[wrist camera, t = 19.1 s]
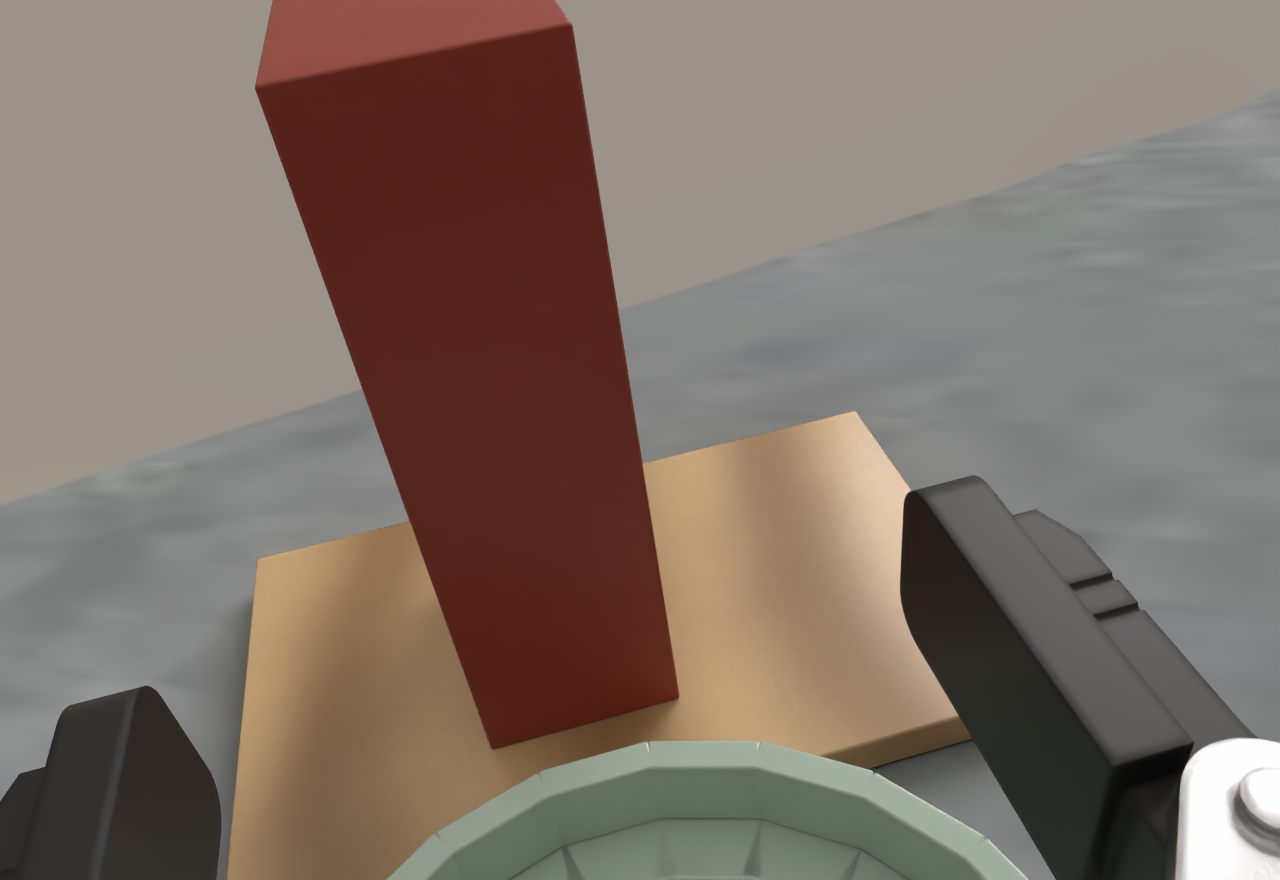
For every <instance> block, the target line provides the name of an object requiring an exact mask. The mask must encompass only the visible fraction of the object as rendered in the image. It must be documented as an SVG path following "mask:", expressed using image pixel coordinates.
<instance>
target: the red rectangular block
mask: <svg viewBox="0 0 1280 880" xmlns="http://www.w3.org/2000/svg"><path fill="white" fill-rule="evenodd" d="M255 90H256V93H257V95H258V98H259V101H260V104H261V107H262V109H263V112H264V115H265V117H266V121H267V123H268V126H269V129H270V132H271V134H272V137H273V140H274V143H275V146H276V148H277V151H278V154H279V157H280V159H281V162H282V165H283V168H284V171H285V173H286V176H287V179H288V182H289V185H290V188H291V190H292V193H293V196H294V199H295V202H296V204H297V207H298V210H299V213H300V216H301V218H302V221H303V224H304V227H305V230H306V232H307V235H308V238H309V241H310V244H311V246H312V249H313V252H314V255H315V258H316V260H317V263H318V266H319V269H320V272H321V274H322V277H323V280H324V283H325V286H326V288H327V291H328V294H329V297H330V300H331V302H332V305H333V308H334V311H335V314H336V316H337V319H338V322H339V325H340V327H341V330H342V333H343V336H344V339H345V341H346V344H347V347H348V350H349V353H350V355H351V358H352V361H353V364H354V367H355V369H356V372H357V375H358V378H359V381H360V383H361V386H362V389H363V392H364V395H365V397H366V400H367V403H368V406H369V409H370V411H371V414H372V417H373V420H374V423H375V425H376V428H377V431H378V434H379V437H380V439H381V442H382V445H383V448H384V451H385V453H386V456H387V459H388V462H389V465H390V467H391V470H392V473H393V476H394V479H395V481H396V484H397V487H398V490H399V493H400V495H401V498H402V501H403V504H404V507H405V509H406V512H407V515H408V518H409V521H410V523H411V526H412V529H413V532H414V535H415V537H416V540H417V543H418V546H419V549H420V551H421V554H422V557H423V560H424V562H425V565H426V568H427V571H428V574H429V576H430V579H431V582H432V585H433V588H434V590H435V593H436V596H437V599H438V602H439V604H440V607H441V610H442V613H443V616H444V618H445V621H446V624H447V627H448V630H449V632H450V635H451V638H452V641H453V644H454V646H455V649H456V652H457V655H458V658H459V660H460V663H461V666H462V669H463V672H464V674H465V677H466V680H467V683H468V686H469V688H470V691H471V694H472V697H473V700H474V702H475V705H476V708H477V711H478V714H479V716H480V719H481V722H482V725H483V728H484V730H485V733H486V736H487V739H488V742H489V744H490V747H491V748H492V749H497V748H500V747H504V746H508V745H511V744H515V743H519V742H522V741H526V740H529V739H533V738H537V737H540V736H544V735H548V734H551V733H555V732H558V731H562V730H566V729H569V728H573V727H576V726H580V725H584V724H587V723H591V722H595V721H598V720H602V719H605V718H609V717H613V716H616V715H620V714H624V713H627V712H631V711H634V710H638V709H642V708H645V707H649V706H653V705H656V704H660V703H663V702H667V701H671V700H674V699H678V698H679V695H680V694H679V688H678V682H677V676H676V669H675V663H674V657H673V651H672V644H671V638H670V632H669V626H668V619H667V613H666V607H665V601H664V594H663V588H662V582H661V576H660V569H659V563H658V557H657V551H656V544H655V538H654V532H653V526H652V519H651V513H650V507H649V501H648V494H647V488H646V482H645V476H644V469H643V463H642V457H641V451H640V444H639V438H638V432H637V425H636V419H635V413H634V407H633V400H632V394H631V388H630V382H629V375H628V369H627V363H626V357H625V350H624V344H623V338H622V332H621V325H620V319H619V313H618V307H617V301H616V294H615V288H614V282H613V275H612V269H611V263H610V257H609V251H608V244H607V238H606V232H605V225H604V219H603V213H602V207H601V200H600V195H599V189H598V182H597V175H596V169H595V164H594V157H593V150H592V144H591V138H590V132H589V125H588V119H587V113H586V107H585V101H584V95H583V88H582V82H581V75H580V69H579V63H578V57H577V50H576V44H575V38H574V32H573V26H572V24H571V22H570V21H569V19H568V18H567V16H566V15H565V13H564V12H563V10H562V9H561V7H560V6H559V4H558V3H557V2H556V0H273V2H272V7H271V12H270V17H269V22H268V27H267V31H266V36H265V41H264V46H263V51H262V56H261V61H260V65H259V70H258V75H257V80H256V85H255Z"/></svg>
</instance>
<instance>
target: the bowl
mask: <svg viewBox="0 0 1280 880" xmlns="http://www.w3.org/2000/svg"><path fill="white" fill-rule="evenodd" d="M386 880H1029V879H1028V878H1027V877H1026V876H1025V875H1024V874H1023V873H1022V872H1021V871H1020V870H1019V869H1018V868H1017V867H1016V866H1015V865H1014V864H1013V863H1012V862H1011V861H1010V860H1009V859H1008V858H1007V857H1006V856H1005V855H1004V854H1003V853H1002V852H1001V851H1000V850H999V849H998V848H997V847H996V846H995V845H994V844H993V843H992V842H991V841H990V840H989V839H985V837H984V836H983V835H982V834H981V833H979V832H977V831H976V830H974V829H972V828H970V827H969V826H967V825H965V824H963V823H962V822H960V821H958V820H957V819H955V818H953V817H951V816H950V815H948V814H946V813H945V812H943V811H941V810H939V809H938V808H936V807H934V806H933V805H931V804H929V803H927V802H926V801H924V800H922V799H921V798H919V797H917V796H915V795H914V794H912V793H910V792H908V791H907V790H905V789H903V788H902V787H900V786H898V785H896V784H895V783H893V782H891V781H890V780H888V779H886V778H884V777H883V776H881V775H879V774H877V773H875V774H874V772H873V771H872V770H868V769H865V768H861V767H857V766H853V765H850V764H846V763H842V762H839V761H835V760H831V759H827V758H824V757H820V756H816V755H813V754H809V753H805V752H801V751H798V750H794V749H790V748H787V747H783V746H779V745H775V744H772V743H768V742H764V741H761V742H759V741H650V742H649V743H647V742H642V743H639V744H635V745H631V746H628V747H624V748H621V749H617V750H613V751H610V752H606V753H603V754H599V755H595V756H592V757H588V758H585V759H581V760H577V761H574V762H570V763H567V764H563V765H559V766H556V767H552V768H549V769H545V770H542V771H540V772H539V774H538V773H537V774H534V775H532V776H530V777H529V778H527V779H525V780H524V781H522V782H520V783H518V784H517V785H515V786H513V787H512V788H510V789H508V790H506V791H505V792H503V793H501V794H500V795H498V796H496V797H494V798H493V799H491V800H489V801H488V802H486V803H484V804H482V805H481V806H479V807H477V808H476V809H474V810H472V811H470V812H469V813H467V814H465V815H464V816H462V817H460V818H459V819H457V820H455V821H453V822H452V823H450V824H448V825H447V826H445V827H443V828H441V829H440V830H438V831H437V832H436V835H435V834H433V835H431V836H430V837H429V838H428V839H427V840H426V841H425V842H424V843H423V844H422V845H421V846H420V847H419V848H418V849H417V850H416V851H415V852H414V853H413V854H412V855H411V856H410V857H409V858H408V859H407V860H406V861H405V862H404V863H403V864H402V865H400V866H399V867H398V868H397V869H396V870H395V871H394V872H393V873H392V874H391V875H390V876H389V877H388V878H387V879H386Z"/></svg>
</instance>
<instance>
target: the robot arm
mask: <svg viewBox="0 0 1280 880" xmlns="http://www.w3.org/2000/svg"><path fill="white" fill-rule="evenodd" d="M900 597H901V603H902V608H903V612H904V616H905V619H906V622H907V625H908V628H909V630H910V633H911V635H912V637H913V639H914V641H915V643H916V645H917V647H918V648H919V650H920V652H921V653H922V655H923V657H924V658H925V660H926V662H927V663H928V665H929V667H930V668H931V670H932V672H933V673H934V675H935V677H936V678H937V680H938V682H939V684H940V685H941V687H942V689H943V690H944V692H945V694H946V695H947V697H948V699H949V700H950V702H951V704H952V705H953V707H954V709H955V710H956V712H957V714H958V715H959V717H960V719H961V720H962V722H963V724H964V726H965V727H966V729H967V731H968V732H969V734H970V736H971V737H972V739H973V741H974V742H975V744H976V746H977V747H978V749H979V751H980V752H981V754H982V756H983V757H984V759H985V761H986V763H987V764H988V766H989V768H990V769H991V771H992V773H993V774H994V776H995V778H996V779H997V781H998V783H999V784H1000V786H1001V788H1002V789H1003V791H1004V793H1005V794H1006V796H1007V798H1008V799H1009V801H1010V803H1011V805H1012V806H1013V808H1014V810H1015V811H1016V813H1017V815H1018V816H1019V818H1020V820H1021V821H1022V823H1023V825H1024V826H1025V828H1026V830H1027V831H1028V833H1029V835H1030V836H1031V838H1032V840H1033V842H1034V843H1035V845H1036V847H1037V848H1038V850H1039V852H1040V853H1041V855H1042V857H1043V858H1044V860H1045V862H1046V863H1047V865H1048V867H1049V868H1050V870H1051V872H1052V873H1053V875H1054V877H1055V878H1056V880H1280V743H1276V742H1273V741H1267V740H1262V739H1259V738H1258V737H1256V736H1255V735H1254V734H1253V733H1252V732H1250V730H1249V729H1248V728H1247V727H1246V726H1245V725H1244V724H1243V723H1242V722H1241V721H1240V720H1239V719H1238V718H1237V717H1236V716H1235V714H1234V713H1233V712H1232V711H1231V710H1230V709H1229V707H1228V706H1227V705H1226V704H1225V703H1224V702H1223V700H1222V699H1221V698H1220V697H1219V696H1218V695H1217V693H1216V692H1215V691H1214V690H1213V689H1212V688H1211V687H1210V685H1209V684H1208V683H1207V682H1206V681H1205V680H1204V678H1203V677H1202V676H1201V675H1200V674H1199V673H1198V671H1197V670H1196V669H1195V668H1194V667H1193V666H1192V665H1191V663H1190V662H1189V661H1188V660H1187V659H1186V658H1185V656H1184V655H1183V654H1182V653H1181V652H1180V651H1179V649H1178V648H1177V647H1176V646H1175V645H1174V644H1173V642H1172V641H1171V640H1170V639H1169V638H1168V637H1167V636H1166V634H1165V633H1164V632H1163V631H1162V630H1161V629H1160V627H1159V626H1158V625H1157V624H1156V623H1155V622H1154V620H1153V619H1152V618H1151V617H1150V616H1149V615H1148V613H1147V612H1146V611H1145V610H1143V611H1141V610H1140V609H1139V607H1138V602H1137V601H1136V600H1135V598H1134V597H1133V596H1132V595H1131V594H1130V593H1129V591H1128V590H1127V589H1126V588H1125V587H1124V586H1123V585H1122V583H1121V582H1120V581H1119V580H1114V578H1113V576H1112V572H1111V571H1110V569H1109V568H1108V567H1107V566H1106V565H1105V564H1104V562H1103V561H1102V560H1101V559H1100V558H1099V557H1098V556H1097V554H1096V553H1095V552H1094V551H1093V550H1092V549H1091V547H1090V546H1089V545H1088V544H1087V543H1086V542H1085V540H1084V539H1083V538H1082V537H1081V536H1080V535H1078V534H1076V533H1075V532H1073V531H1071V530H1070V529H1068V528H1066V527H1065V526H1063V525H1061V524H1060V523H1058V522H1056V521H1054V520H1053V519H1051V518H1049V517H1048V516H1046V515H1044V514H1043V513H1041V512H1039V511H1038V510H1036V509H1035V510H1031V511H1027V512H1024V513H1020V514H1016V515H1012V514H1011V513H1010V511H1009V510H1008V509H1007V508H1006V506H1005V505H1004V504H1003V503H1002V501H1001V500H1000V499H999V498H998V496H997V495H996V494H995V493H994V491H993V490H992V489H991V488H990V486H989V485H988V484H987V483H986V482H985V481H984V480H983V479H981V478H980V477H978V476H969V477H965V478H961V479H957V480H953V481H949V482H946V483H942V484H938V485H934V486H930V487H926V488H922V489H918V490H915V491H911V492H909V493H907V495H906V497H905V500H904V506H903V526H902V548H901V571H900ZM220 838H221V809H220V802H219V797H218V792H217V789H216V785H215V782H214V779H213V777H212V775H211V773H210V771H209V769H208V767H207V766H206V764H205V763H204V761H203V760H202V758H201V757H200V755H199V754H198V752H197V751H196V749H195V748H194V746H193V745H192V743H191V742H190V740H189V738H188V737H187V735H186V734H185V732H184V731H183V729H182V728H181V726H180V725H179V723H178V722H177V720H176V719H175V717H174V716H173V714H172V713H171V711H170V710H169V708H168V706H167V705H166V703H165V702H164V700H163V699H162V697H161V696H160V695H159V693H158V692H157V691H156V690H155V689H153V688H152V687H150V686H143V687H139V688H136V689H132V690H128V691H124V692H120V693H116V694H112V695H108V696H104V697H101V698H97V699H93V700H89V701H85V702H81V703H77V704H73V705H70V706H68V707H67V708H65V710H64V711H63V712H62V714H61V715H60V717H59V720H58V723H57V726H56V729H55V733H54V737H53V740H52V744H51V747H50V751H49V755H48V758H47V762H46V766H45V767H43V768H40V769H36V770H32V771H28V772H24V773H21V774H19V775H18V777H17V778H16V780H15V781H14V783H13V784H12V785H11V787H10V788H9V790H8V791H7V793H6V794H5V795H4V797H3V798H2V800H1V801H0V880H216V875H217V866H218V856H219V847H220Z"/></svg>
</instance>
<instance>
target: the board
mask: <svg viewBox="0 0 1280 880" xmlns="http://www.w3.org/2000/svg"><path fill="white" fill-rule="evenodd" d="M643 469H644V476H645V482H646V488H647V494H648V501H649V507H650V513H651V519H652V526H653V532H654V538H655V544H656V551H657V557H658V563H659V569H660V576H661V582H662V588H663V594H664V601H665V607H666V613H667V619H668V626H669V632H670V638H671V644H672V651H673V657H674V663H675V669H676V676H677V682H678V688H679V694H680V695H679V698H678V699H674V700H671V701H667V702H663V703H660V704H656V705H653V706H649V707H645V708H642V709H638V710H634V711H631V712H627V713H624V714H620V715H616V716H613V717H609V718H605V719H602V720H598V721H595V722H591V723H587V724H584V725H580V726H576V727H573V728H569V729H566V730H562V731H558V732H555V733H551V734H548V735H544V736H540V737H537V738H533V739H529V740H526V741H522V742H519V743H515V744H511V745H508V746H504V747H500V748H497V749H492V748H491V747H490V744H489V742H488V739H487V736H486V733H485V730H484V728H483V725H482V722H481V719H480V716H479V714H478V711H477V708H476V705H475V702H474V700H473V697H472V694H471V691H470V688H469V686H468V683H467V680H466V677H465V674H464V672H463V669H462V666H461V663H460V660H459V658H458V655H457V652H456V649H455V646H454V644H453V641H452V638H451V635H450V632H449V630H448V627H447V624H446V621H445V618H444V616H443V613H442V610H441V607H440V604H439V602H438V599H437V596H436V593H435V590H434V588H433V585H432V582H431V579H430V576H429V574H428V571H427V568H426V565H425V562H424V560H423V557H422V554H421V551H420V549H419V546H418V543H417V540H416V537H415V535H414V532H413V529H412V526H411V523H410V521H409V522H405V523H401V524H397V525H393V526H389V527H385V528H381V529H377V530H373V531H369V532H365V533H361V534H357V535H353V536H349V537H345V538H341V539H336V540H332V541H328V542H324V543H320V544H316V545H312V546H308V547H304V548H300V549H296V550H292V551H288V552H284V553H280V554H276V555H272V556H268V557H264V558H260V559H258V560H257V566H256V576H255V587H254V597H253V608H252V618H251V629H250V639H249V650H248V660H247V671H246V681H245V691H244V702H243V712H242V723H241V733H240V744H239V754H238V765H237V775H236V786H235V796H234V806H233V817H232V827H231V838H230V848H229V859H228V869H227V880H386V879H387V878H388V877H389V876H390V875H391V874H392V873H393V872H394V871H395V870H396V869H397V868H398V867H399V866H400V865H402V864H403V863H404V862H405V861H406V860H407V859H408V858H409V857H410V856H411V855H412V854H413V853H414V852H415V851H416V850H417V849H418V848H419V847H420V846H421V845H422V844H423V843H424V842H425V841H426V840H427V839H428V838H429V837H430V836H431V835H433V834H435V835H436V832H437V831H438V830H440V829H441V828H443V827H445V826H447V825H448V824H450V823H452V822H453V821H455V820H457V819H459V818H460V817H462V816H464V815H465V814H467V813H469V812H470V811H472V810H474V809H476V808H477V807H479V806H481V805H482V804H484V803H486V802H488V801H489V800H491V799H493V798H494V797H496V796H498V795H500V794H501V793H503V792H505V791H506V790H508V789H510V788H512V787H513V786H515V785H517V784H518V783H520V782H522V781H524V780H525V779H527V778H529V777H530V776H532V775H534V774H537V773H538V774H539V772H540V771H542V770H545V769H549V768H552V767H556V766H559V765H563V764H567V763H570V762H574V761H577V760H581V759H585V758H588V757H592V756H595V755H599V754H603V753H606V752H610V751H613V750H617V749H621V748H624V747H628V746H631V745H635V744H639V743H642V742H647V743H649V742H650V741H759V742H761V741H764V742H768V743H772V744H775V745H779V746H783V747H787V748H790V749H794V750H798V751H801V752H805V753H809V754H813V755H816V756H820V757H824V758H827V759H831V760H835V761H839V762H842V763H846V764H850V765H853V766H857V767H861V768H865V769H869V768H873V767H876V766H879V765H883V764H886V763H890V762H893V761H897V760H900V759H904V758H907V757H911V756H914V755H918V754H921V753H925V752H928V751H932V750H935V749H939V748H942V747H946V746H949V745H953V744H956V743H959V742H963V741H966V740H970V739H972V737H971V736H970V734H969V732H968V731H967V729H966V727H965V726H964V724H963V722H962V720H961V719H960V717H959V715H958V714H957V712H956V710H955V709H954V707H953V705H952V704H951V702H950V700H949V699H948V697H947V695H946V694H945V692H944V690H943V689H942V687H941V685H940V684H939V682H938V680H937V678H936V677H935V675H934V673H933V672H932V670H931V668H930V667H929V665H928V663H927V662H926V660H925V658H924V657H923V655H922V653H921V652H920V650H919V648H918V647H917V645H916V643H915V641H914V639H913V637H912V635H911V633H910V630H909V628H908V625H907V622H906V619H905V616H904V612H903V608H902V603H901V597H900V571H901V548H902V526H903V506H904V500H905V497H906V495H907V493H909V492H911V491H912V490H911V489H910V487H909V486H908V485H907V483H906V482H905V480H904V479H903V478H902V476H901V475H900V473H899V472H898V470H897V469H896V468H895V466H894V465H893V463H892V462H891V461H890V459H889V458H888V456H887V455H886V453H885V452H884V451H883V449H882V448H881V446H880V445H879V444H878V442H877V441H876V439H875V438H874V436H873V435H872V434H871V432H870V431H869V429H868V428H867V426H866V425H865V424H864V422H863V421H862V419H861V418H860V417H859V415H858V414H857V412H856V411H853V412H849V413H845V414H841V415H837V416H833V417H829V418H824V419H820V420H816V421H812V422H808V423H804V424H800V425H796V426H792V427H788V428H784V429H780V430H776V431H772V432H768V433H764V434H760V435H756V436H752V437H748V438H744V439H740V440H736V441H732V442H728V443H724V444H720V445H716V446H712V447H708V448H703V449H699V450H695V451H691V452H687V453H683V454H679V455H675V456H671V457H667V458H663V459H659V460H655V461H651V462H647V463H643Z"/></svg>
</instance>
